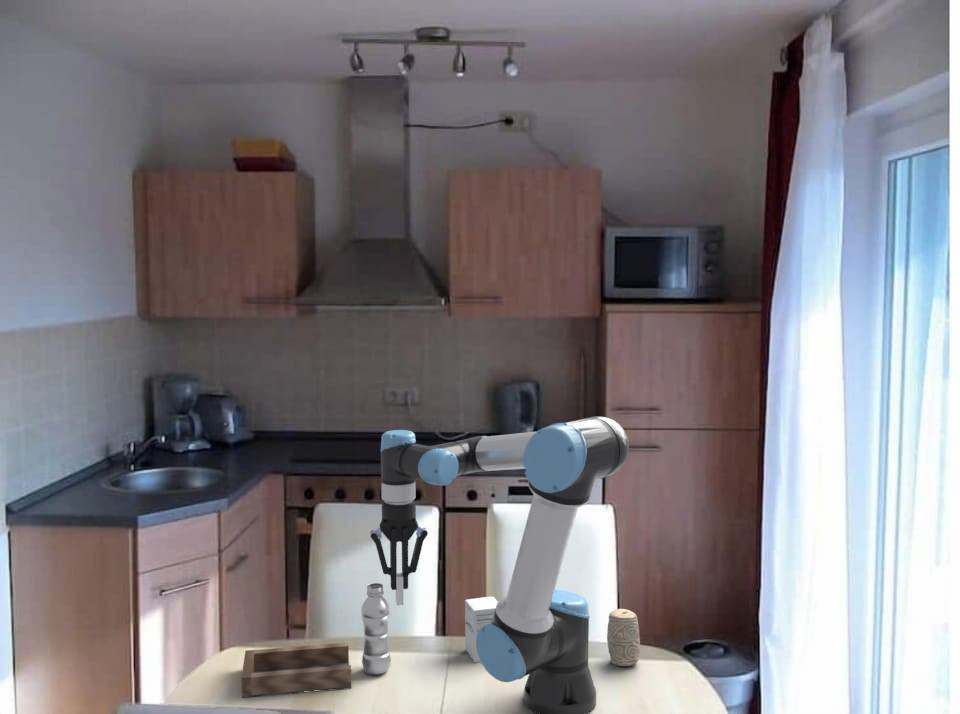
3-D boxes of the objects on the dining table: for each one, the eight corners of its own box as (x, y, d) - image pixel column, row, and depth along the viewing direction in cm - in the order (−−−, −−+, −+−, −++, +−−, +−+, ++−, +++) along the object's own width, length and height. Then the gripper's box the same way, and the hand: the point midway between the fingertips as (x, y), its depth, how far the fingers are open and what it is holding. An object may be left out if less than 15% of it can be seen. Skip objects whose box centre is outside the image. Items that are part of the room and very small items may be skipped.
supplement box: (464, 650, 222) (464, 598, 221) (494, 646, 224) (494, 595, 223) (473, 663, 215) (473, 610, 214) (504, 659, 217) (504, 606, 216)
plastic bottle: (393, 665, 214) (392, 581, 212) (387, 679, 207) (386, 591, 205) (365, 664, 215) (364, 580, 212) (359, 677, 208) (357, 590, 206)
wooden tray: (348, 660, 217) (348, 642, 216) (351, 688, 203) (351, 668, 203) (246, 669, 213) (245, 650, 212) (242, 697, 199) (241, 678, 198)
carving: (608, 655, 219) (609, 606, 218) (641, 659, 217) (642, 609, 216) (604, 667, 213) (605, 616, 212) (638, 671, 211) (639, 619, 210)
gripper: (425, 494, 213) (426, 594, 215) (368, 497, 210) (369, 598, 213) (429, 503, 205) (430, 607, 208) (370, 506, 203) (371, 611, 206)
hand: (399, 602), depth 210 cm, fingers closed
